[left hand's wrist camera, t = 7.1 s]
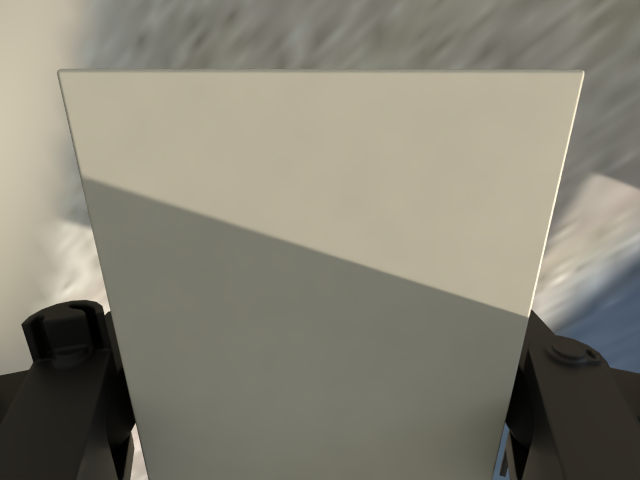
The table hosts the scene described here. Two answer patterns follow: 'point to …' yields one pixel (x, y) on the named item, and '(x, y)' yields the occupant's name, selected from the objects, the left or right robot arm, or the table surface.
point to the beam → (320, 259)
